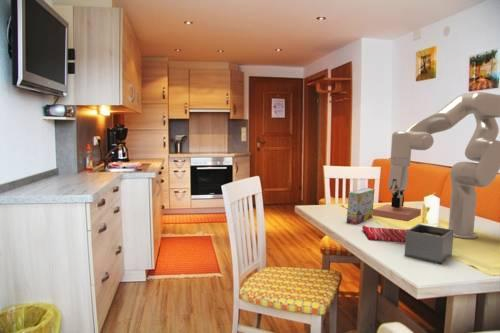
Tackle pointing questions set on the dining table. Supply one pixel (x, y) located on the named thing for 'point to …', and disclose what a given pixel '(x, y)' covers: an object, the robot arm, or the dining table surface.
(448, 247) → the tin
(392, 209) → the lid
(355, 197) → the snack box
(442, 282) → the dining table surface
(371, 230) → the dish towel
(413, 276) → the dining table surface
